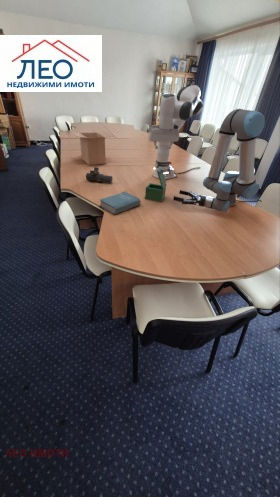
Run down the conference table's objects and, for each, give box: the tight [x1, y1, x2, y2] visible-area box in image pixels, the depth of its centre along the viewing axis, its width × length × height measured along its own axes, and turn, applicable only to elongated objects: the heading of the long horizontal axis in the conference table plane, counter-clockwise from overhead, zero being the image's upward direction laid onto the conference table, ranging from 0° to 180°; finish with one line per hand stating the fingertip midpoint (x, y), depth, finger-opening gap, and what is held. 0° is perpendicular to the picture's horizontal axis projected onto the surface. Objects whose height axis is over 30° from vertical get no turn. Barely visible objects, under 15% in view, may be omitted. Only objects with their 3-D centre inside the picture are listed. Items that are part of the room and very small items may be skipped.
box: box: [70, 129, 114, 166], centre depth 229 cm, size 44×36×27 cm
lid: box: [157, 166, 174, 190], centre depth 157 cm, size 14×10×9 cm
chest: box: [144, 183, 167, 203], centre depth 166 cm, size 13×10×9 cm
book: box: [99, 191, 141, 215], centre depth 152 cm, size 23×16×5 cm
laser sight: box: [85, 166, 113, 184], centre depth 186 cm, size 10×22×10 cm, turn 78°
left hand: (162, 148), depth 147 cm, fingers open, 8 cm apart
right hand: (176, 194), depth 160 cm, fingers open, 13 cm apart
